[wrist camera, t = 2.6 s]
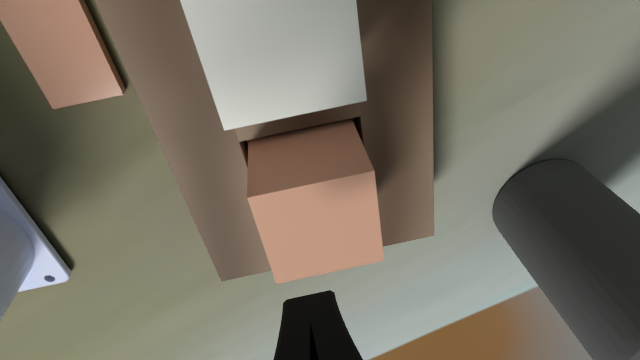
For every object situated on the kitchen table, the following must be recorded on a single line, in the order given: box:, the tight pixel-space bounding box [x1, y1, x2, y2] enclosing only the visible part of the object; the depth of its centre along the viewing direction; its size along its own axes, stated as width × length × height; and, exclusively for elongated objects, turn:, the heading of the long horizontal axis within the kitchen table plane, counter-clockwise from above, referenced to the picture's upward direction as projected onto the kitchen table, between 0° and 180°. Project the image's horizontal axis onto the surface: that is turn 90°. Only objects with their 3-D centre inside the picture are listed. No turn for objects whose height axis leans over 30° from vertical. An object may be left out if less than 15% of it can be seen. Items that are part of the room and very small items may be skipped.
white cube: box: [180, 0, 367, 131], centre depth 13 cm, size 4×4×4 cm
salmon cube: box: [247, 119, 384, 284], centre depth 17 cm, size 4×4×4 cm
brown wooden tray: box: [95, 0, 434, 281], centre depth 15 cm, size 11×24×3 cm, turn 10°
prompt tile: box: [0, 0, 126, 109], centre depth 16 cm, size 3×5×1 cm, turn 10°
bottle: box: [492, 159, 640, 360], centre depth 19 cm, size 6×6×15 cm
